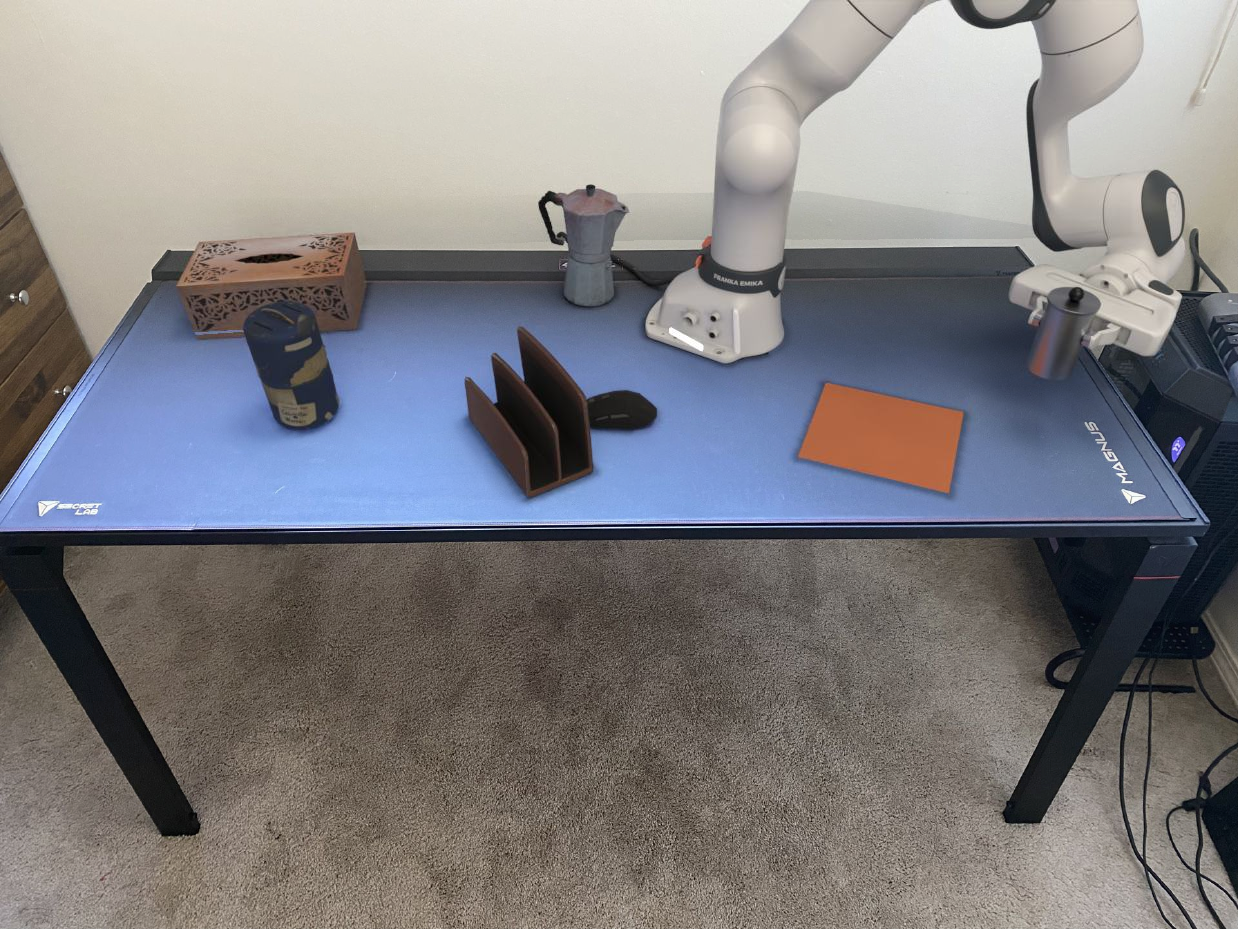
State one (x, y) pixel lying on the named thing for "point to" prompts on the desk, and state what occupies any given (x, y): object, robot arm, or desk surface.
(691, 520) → the desk surface
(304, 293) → the tissue box cover
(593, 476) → the desk surface
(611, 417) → the gaming mouse
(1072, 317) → the pot
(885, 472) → the napkin
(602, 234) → the moka pot
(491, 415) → the letter holder
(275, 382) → the canister
